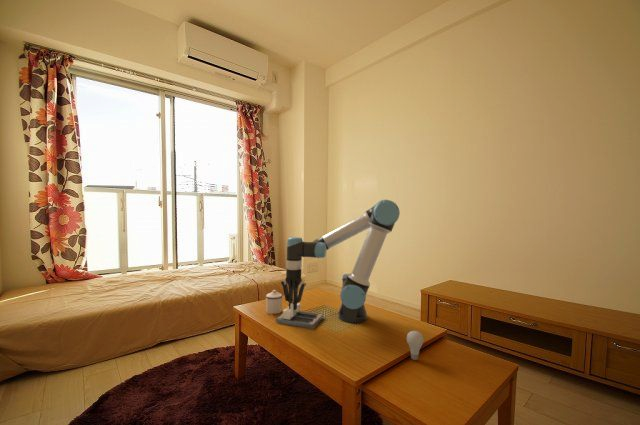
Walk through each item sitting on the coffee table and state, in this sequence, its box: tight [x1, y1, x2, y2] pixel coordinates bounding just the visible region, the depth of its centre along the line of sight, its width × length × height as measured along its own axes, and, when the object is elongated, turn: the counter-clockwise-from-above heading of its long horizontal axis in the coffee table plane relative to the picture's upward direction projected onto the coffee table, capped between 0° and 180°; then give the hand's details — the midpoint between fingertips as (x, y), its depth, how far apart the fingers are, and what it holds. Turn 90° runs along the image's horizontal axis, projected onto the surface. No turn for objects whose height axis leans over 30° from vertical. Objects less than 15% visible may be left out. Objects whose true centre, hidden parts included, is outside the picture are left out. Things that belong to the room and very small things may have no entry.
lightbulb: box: [406, 330, 425, 361], centre depth 106 cm, size 6×6×11 cm
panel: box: [275, 310, 324, 330], centre depth 143 cm, size 20×15×3 cm
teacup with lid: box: [265, 289, 283, 315], centre depth 155 cm, size 12×9×12 cm
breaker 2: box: [296, 302, 301, 312], centre depth 149 cm, size 4×3×4 cm
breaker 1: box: [282, 308, 293, 320], centre depth 139 cm, size 4×3×4 cm
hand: (292, 315), depth 138 cm, fingers closed
